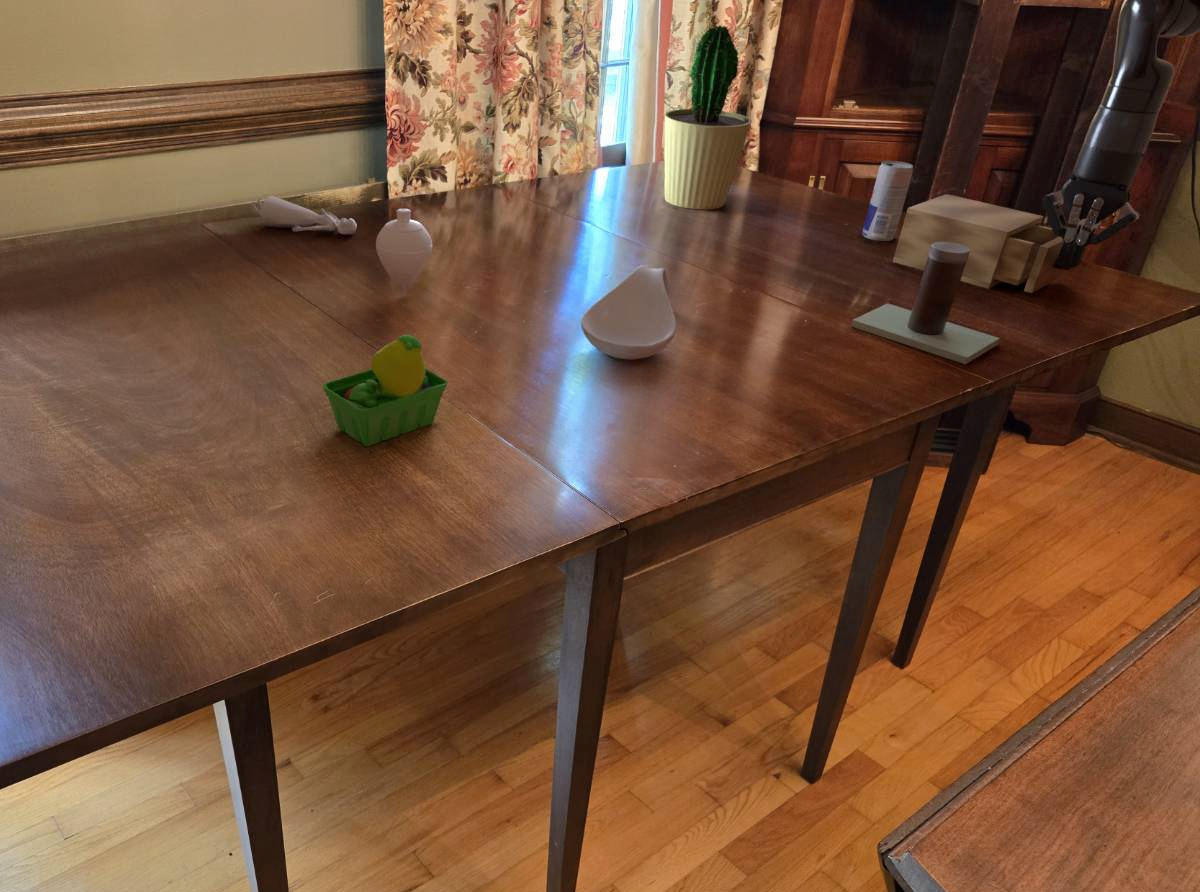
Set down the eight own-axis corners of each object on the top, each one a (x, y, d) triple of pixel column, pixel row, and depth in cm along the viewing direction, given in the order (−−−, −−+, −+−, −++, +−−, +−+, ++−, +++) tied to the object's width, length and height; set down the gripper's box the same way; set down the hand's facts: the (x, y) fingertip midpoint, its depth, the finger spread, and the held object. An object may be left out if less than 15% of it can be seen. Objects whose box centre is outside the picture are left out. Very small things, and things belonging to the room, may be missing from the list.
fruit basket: (406, 399, 108) (406, 302, 102) (457, 428, 103) (460, 329, 96) (321, 428, 102) (315, 327, 95) (371, 461, 96) (367, 357, 90)
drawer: (1071, 278, 149) (1088, 234, 145) (1040, 295, 142) (1057, 250, 138) (971, 251, 158) (985, 209, 154) (937, 267, 151) (951, 223, 147)
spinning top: (366, 300, 133) (364, 212, 126) (393, 283, 138) (392, 198, 132) (415, 310, 130) (415, 221, 123) (441, 293, 136) (442, 207, 129)
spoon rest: (663, 377, 115) (672, 321, 111) (568, 362, 118) (573, 306, 114) (690, 310, 134) (699, 259, 130) (608, 298, 137) (614, 248, 133)
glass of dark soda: (949, 329, 129) (976, 248, 123) (933, 338, 126) (960, 255, 120) (916, 319, 132) (941, 239, 125) (900, 327, 129) (925, 246, 123)
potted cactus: (735, 216, 173) (770, 29, 156) (650, 207, 176) (674, 23, 159) (737, 194, 186) (769, 19, 168) (657, 186, 188) (680, 13, 171)
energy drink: (872, 230, 169) (891, 159, 162) (900, 238, 166) (920, 165, 159) (855, 235, 166) (874, 163, 159) (883, 243, 163) (903, 170, 156)
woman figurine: (270, 185, 162) (369, 204, 159) (271, 211, 165) (369, 231, 162) (237, 203, 153) (342, 224, 150) (238, 230, 155) (341, 252, 152)
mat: (997, 345, 128) (1000, 338, 127) (965, 364, 122) (967, 357, 121) (885, 309, 137) (887, 303, 136) (850, 326, 131) (852, 319, 131)
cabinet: (1023, 270, 154) (1043, 216, 149) (988, 289, 146) (1008, 232, 141) (930, 245, 163) (946, 193, 158) (892, 261, 155) (907, 207, 150)
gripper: (1054, 137, 132) (1010, 261, 142) (1159, 157, 125) (1105, 286, 135) (1074, 131, 137) (1030, 251, 147) (1177, 149, 129) (1123, 275, 139)
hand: (1066, 268), depth 141 cm, fingers closed
